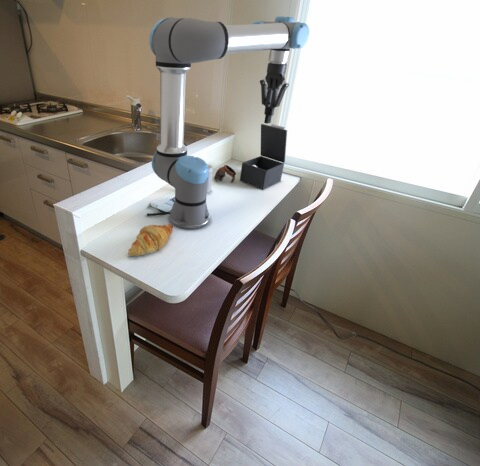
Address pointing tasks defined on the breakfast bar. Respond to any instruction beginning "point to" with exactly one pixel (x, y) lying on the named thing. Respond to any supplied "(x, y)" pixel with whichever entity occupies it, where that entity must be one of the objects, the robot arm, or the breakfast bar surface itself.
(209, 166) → the beverage can
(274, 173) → the open cubby box
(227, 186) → the breakfast bar surface
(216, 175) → the broken terracotta ring
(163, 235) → the croissant
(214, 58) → the robot arm
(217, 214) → the breakfast bar surface
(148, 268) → the breakfast bar surface
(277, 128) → the lid
